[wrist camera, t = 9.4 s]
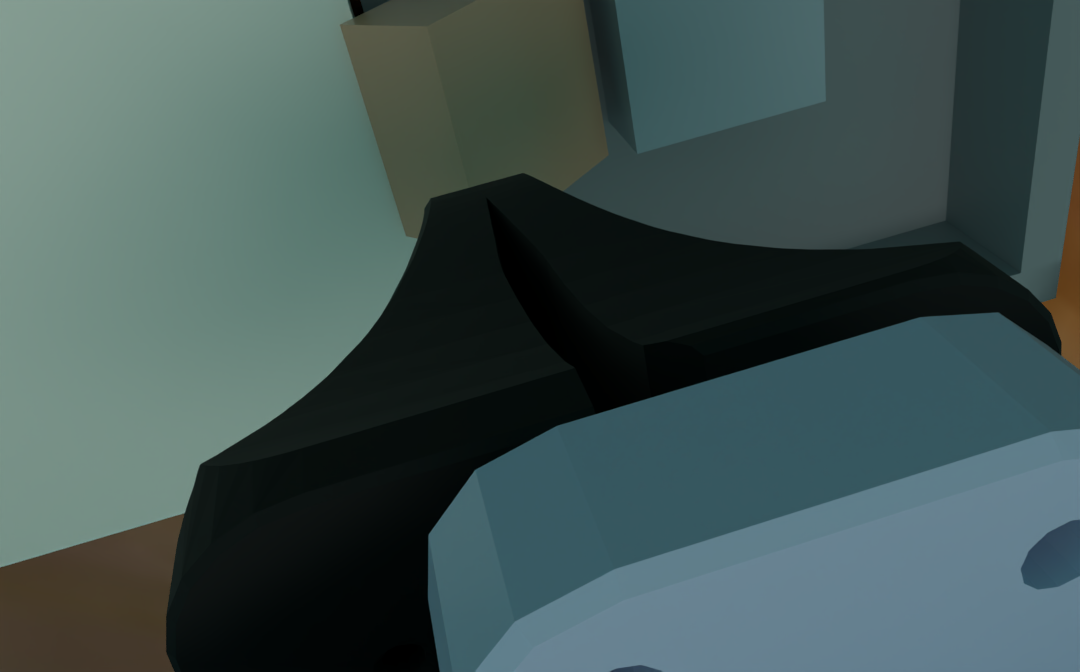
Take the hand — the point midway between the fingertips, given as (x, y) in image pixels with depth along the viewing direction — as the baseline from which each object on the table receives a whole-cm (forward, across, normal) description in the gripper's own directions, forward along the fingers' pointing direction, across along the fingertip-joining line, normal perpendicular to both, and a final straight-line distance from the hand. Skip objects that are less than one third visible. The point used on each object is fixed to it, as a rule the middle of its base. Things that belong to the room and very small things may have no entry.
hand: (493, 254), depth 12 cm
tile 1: (+7, 0, 0) cm, 7 cm away
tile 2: (+6, -6, 0) cm, 8 cm away
